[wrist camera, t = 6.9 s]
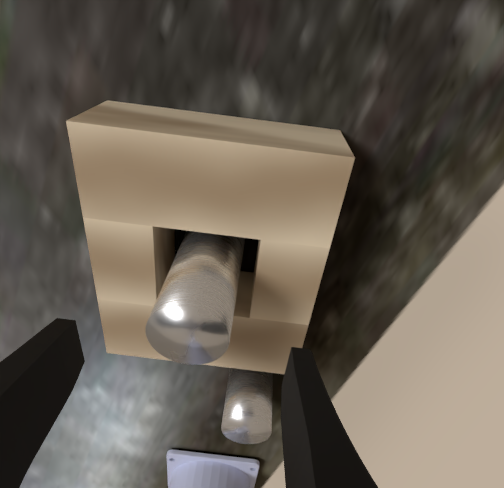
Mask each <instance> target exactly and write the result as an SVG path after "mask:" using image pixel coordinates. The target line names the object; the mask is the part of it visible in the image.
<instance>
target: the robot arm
mask: <svg viewBox="0 0 504 488" xmlns="http://www.w3.org/2000/svg"><path fill="white" fill-rule="evenodd" d="M83 364H84V356H83V352H82V348H81V343H80V339H79V334H78V330H77V326H76V321H75V320H67V319H59V318H57V319H55V320H54V321H53V322H51V323H50V324H49V325H48V326H46V327H45V328H44V329H42V330H41V331H40V332H39V333H37V334H36V335H35V336H34V337H32V338H31V339H30V340H28V341H27V342H26V343H25V344H23V345H22V346H21V347H20V348H18V349H17V350H16V351H14V352H13V353H12V354H10V355H9V356H8V357H7V358H5V359H4V360H3V361H1V362H0V488H19V487H20V485H21V483H22V480H23V478H24V476H25V474H26V472H27V470H28V468H29V467H30V465H31V463H32V461H33V459H34V457H35V456H36V454H37V452H38V450H39V449H40V447H41V445H42V443H43V442H44V440H45V438H46V436H47V435H48V433H49V431H50V429H51V428H52V426H53V424H54V422H55V421H56V419H57V417H58V415H59V414H60V412H61V410H62V408H63V406H64V405H65V403H66V401H67V399H68V398H69V396H70V394H71V392H72V390H73V388H74V385H75V383H76V381H77V379H78V376H79V374H80V371H81V369H82V366H83ZM281 426H282V440H283V454H284V468H285V481H286V488H378V487H377V485H376V484H375V482H374V481H373V479H372V477H371V475H370V474H369V473H368V471H367V469H366V467H365V465H364V464H363V462H362V460H361V459H360V457H359V455H358V453H357V452H356V450H355V448H354V446H353V444H352V442H351V441H350V439H349V437H348V435H347V433H346V431H345V429H344V427H343V425H342V423H341V421H340V419H339V417H338V415H337V413H336V410H335V408H334V406H333V404H332V402H331V400H330V398H329V395H328V393H327V391H326V388H325V386H324V383H323V381H322V378H321V376H320V373H319V371H318V368H317V365H316V362H315V359H314V356H313V353H312V351H311V350H310V349H305V348H297V347H291V350H290V354H289V358H288V362H287V366H286V370H285V374H284V378H283V382H282V394H281ZM259 465H260V463H259V461H258V460H256V459H250V458H241V457H233V456H224V455H216V454H208V453H199V452H191V451H182V450H174V449H171V450H169V451H168V452H167V474H168V488H254V487H255V482H256V478H257V474H258V470H259Z"/></svg>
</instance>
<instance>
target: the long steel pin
mask: <svg viewBox="0 0 504 488" xmlns="http://www.w3.org/2000/svg"><path fill="white" fill-rule="evenodd" d="M244 243H245V238H242V237H234V236H226V235H218V234H210V233H202V232H194V231H186V233H185V235H184V238H183V240H182V242H181V245H180V247H179V249H178V252H177V254H176V256H175V258H174V261H173V263H172V265H171V268H170V270H169V272H168V275H167V277H166V279H165V282H164V284H163V286H162V289H161V291H160V293H159V296H158V298H157V300H156V303H155V305H154V307H153V309H152V312H151V314H150V316H149V319H148V321H147V324H146V329H145V332H146V337H147V339H148V341H149V343H150V345H151V346H152V347H153V348H154V349H155V350H156V351H157V352H158V353H159V354H161V355H162V356H164V357H166V358H168V359H170V360H172V361H175V362H178V363H182V364H189V365H200V364H206V363H210V362H213V361H215V360H217V359H219V358H220V357H221V356H222V355H223V354H224V353H225V352H226V351H227V349H228V346H229V342H230V336H231V329H232V322H233V316H234V309H235V303H236V296H237V289H238V283H239V276H240V270H241V263H242V256H243V250H244Z"/></svg>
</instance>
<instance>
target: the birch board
mask: <svg viewBox="0 0 504 488" xmlns="http://www.w3.org/2000/svg"><path fill="white" fill-rule="evenodd" d="M66 123H67V128H68V134H69V140H70V146H71V151H72V157H73V163H74V168H75V174H76V180H77V185H78V191H79V197H80V202H81V208H82V214H83V219H84V225H85V231H86V237H87V242H88V248H89V254H90V259H91V265H92V271H93V276H94V282H95V288H96V293H97V299H98V305H99V310H100V316H101V322H102V328H103V333H104V339H105V345H106V350H107V353H112V354H121V355H129V356H137V357H145V358H154V359H162V360H170V359H168V358H166V357H164V356H162V355H161V354H159V353H158V352H157V351H156V350H155V349H154V348H153V347H152V346H151V345H150V343H149V341H148V339H147V337H146V332H145V329H146V324H147V321H148V319H149V316H150V314H151V312H152V309H153V307H154V305H155V303H156V300H157V298H158V296H159V293H160V291H161V289H162V286H163V284H164V282H165V279H166V277H167V275H168V272H169V270H170V268H171V265H172V263H173V261H174V258H175V232H174V229H178V230H186V231H194V232H202V233H210V234H218V235H226V236H234V237H242V238H250V239H258V246H257V253H256V260H255V267H254V273H253V272H245V271H240V276H239V283H238V289H237V296H236V303H235V309H234V316H233V322H232V329H231V336H230V342H229V346H228V349H227V351H226V352H225V353H224V354H223V355H222V356H221V357H220V358H219V359H217V360H215V361H213V362H210V363H206V364H203V365H211V366H220V367H228V368H236V369H245V370H253V371H261V372H269V373H278V374H285V370H286V366H287V362H288V358H289V354H290V350H291V347H297V348H302V347H303V343H304V339H305V336H306V332H307V329H308V325H309V321H310V318H311V314H312V311H313V307H314V303H315V300H316V296H317V293H318V289H319V285H320V282H321V278H322V275H323V271H324V268H325V264H326V260H327V257H328V253H329V250H330V246H331V242H332V239H333V235H334V232H335V228H336V224H337V221H338V217H339V214H340V210H341V206H342V203H343V199H344V196H345V192H346V189H347V185H348V181H349V178H350V174H351V171H352V167H353V163H354V160H355V157H354V155H353V153H352V151H351V149H350V148H349V146H348V144H347V142H346V140H345V139H344V137H343V135H342V133H341V131H340V130H335V129H327V128H319V127H311V126H303V125H296V124H288V123H280V122H272V121H264V120H257V119H249V118H241V117H233V116H225V115H217V114H210V113H202V112H194V111H186V110H178V109H171V108H163V107H155V106H147V105H139V104H131V103H124V102H116V101H108V100H107V101H105V102H103V103H101V104H99V105H97V106H95V107H93V108H91V109H89V110H87V111H85V112H83V113H81V114H79V115H77V116H75V117H73V118H71V119H69V120H67V121H66ZM170 361H172V360H170Z"/></svg>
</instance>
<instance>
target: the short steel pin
mask: <svg viewBox="0 0 504 488" xmlns="http://www.w3.org/2000/svg"><path fill="white" fill-rule="evenodd" d="M272 384H273V373H269V372H261V371H253V370H245V369H236V368H230V372H229V378H228V385H227V392H226V399H225V406H224V412H223V419H222V426H221V430H222V432H223V434H224V435H225V436H226V437H227V438H229V439H230V440H232V441H235V442H238V443H243V444H256V443H261V442H263V441H265V440H267V439H268V438H269V437H270V435H271V425H272Z"/></svg>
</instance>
